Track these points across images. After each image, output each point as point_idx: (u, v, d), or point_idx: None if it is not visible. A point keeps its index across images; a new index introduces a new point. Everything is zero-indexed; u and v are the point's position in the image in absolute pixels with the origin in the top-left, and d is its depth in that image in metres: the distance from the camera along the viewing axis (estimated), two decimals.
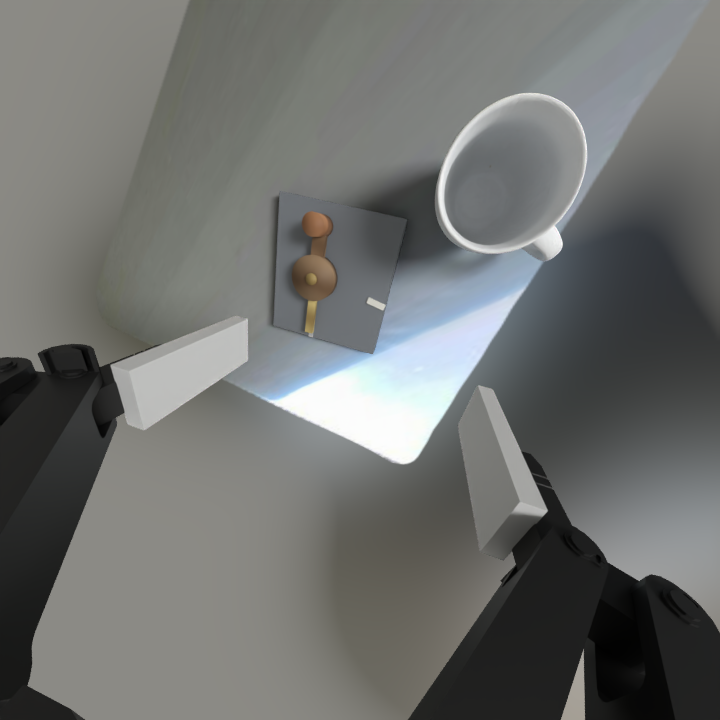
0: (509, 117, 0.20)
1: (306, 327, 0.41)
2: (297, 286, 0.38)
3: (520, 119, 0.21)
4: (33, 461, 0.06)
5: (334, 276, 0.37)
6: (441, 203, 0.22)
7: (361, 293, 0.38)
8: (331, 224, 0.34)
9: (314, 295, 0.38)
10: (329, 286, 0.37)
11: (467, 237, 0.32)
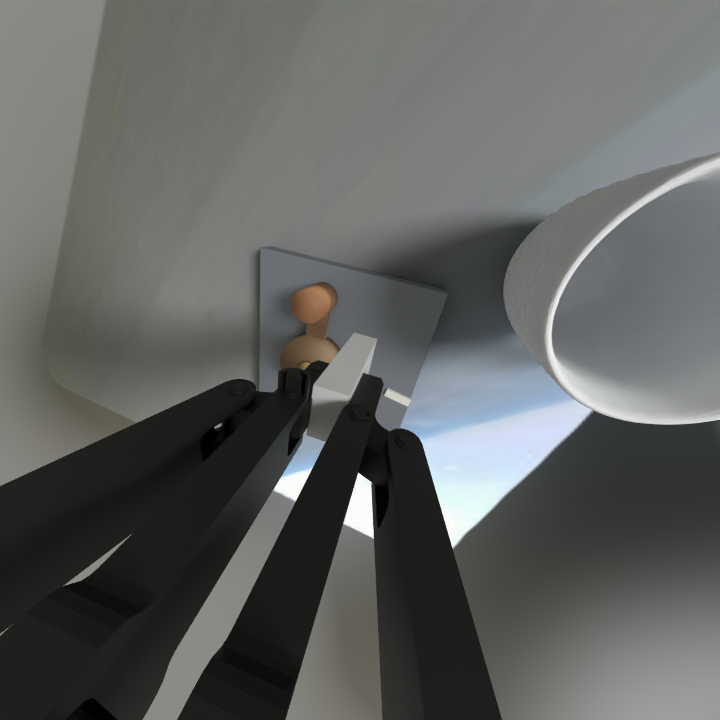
0: (718, 177, 0.10)
1: None
2: None
3: None
4: (238, 477, 0.06)
5: None
6: (550, 335, 0.12)
7: None
8: (336, 297, 0.24)
9: None
10: None
11: None
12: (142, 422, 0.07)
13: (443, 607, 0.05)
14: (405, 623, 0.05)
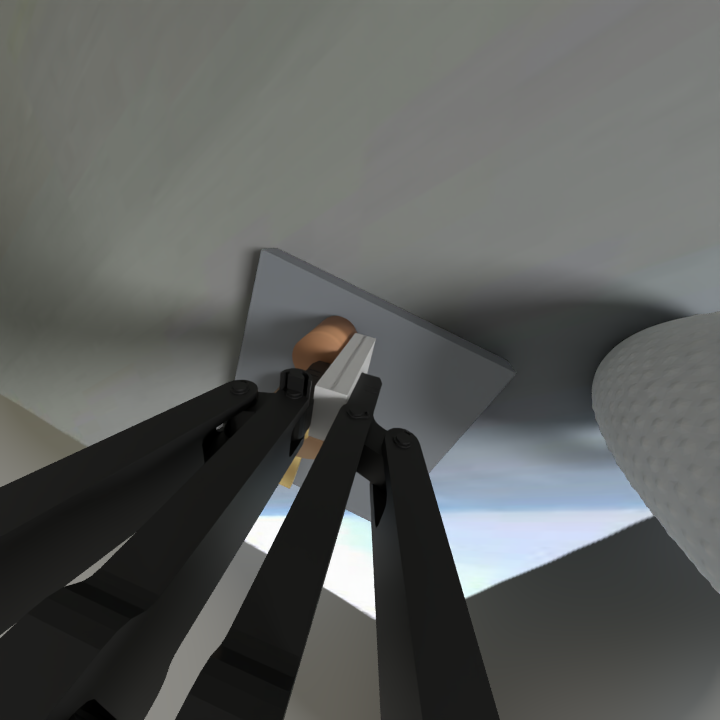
0: None
1: (281, 479, 0.23)
2: None
3: None
4: (239, 478, 0.06)
5: None
6: None
7: None
8: None
9: (302, 450, 0.20)
10: None
11: None
12: (144, 422, 0.07)
13: (440, 605, 0.05)
14: (403, 622, 0.05)
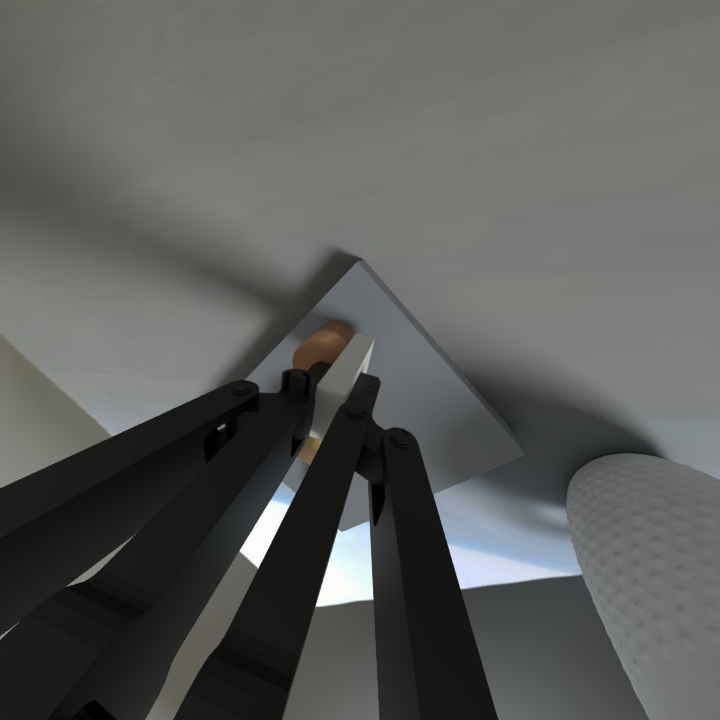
0: None
1: None
2: None
3: None
4: (241, 478, 0.06)
5: None
6: None
7: None
8: None
9: None
10: None
11: None
12: (145, 423, 0.07)
13: (439, 604, 0.05)
14: (401, 620, 0.05)
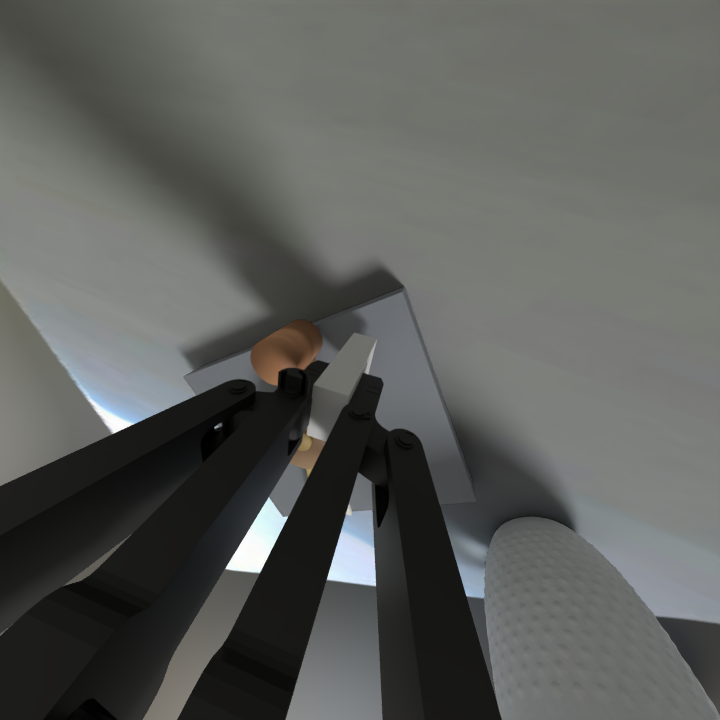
0: None
1: None
2: None
3: None
4: (237, 477, 0.06)
5: None
6: None
7: None
8: (318, 337, 0.17)
9: (313, 461, 0.20)
10: None
11: None
12: (142, 422, 0.07)
13: (443, 607, 0.05)
14: (406, 623, 0.05)
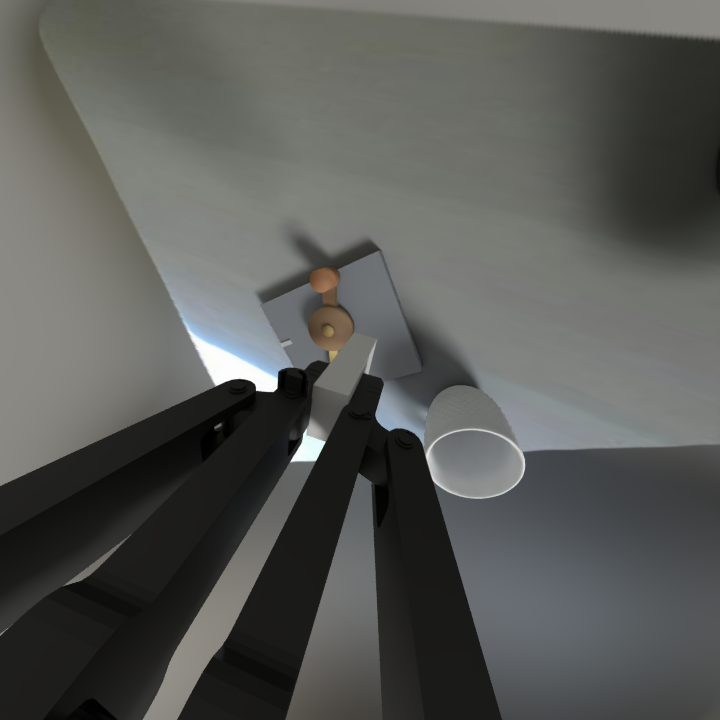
0: None
1: None
2: (316, 340, 0.37)
3: None
4: (237, 477, 0.06)
5: (350, 323, 0.36)
6: (441, 437, 0.29)
7: None
8: (338, 274, 0.34)
9: (334, 345, 0.37)
10: (347, 333, 0.36)
11: None
12: (142, 422, 0.07)
13: (443, 607, 0.05)
14: (406, 624, 0.05)
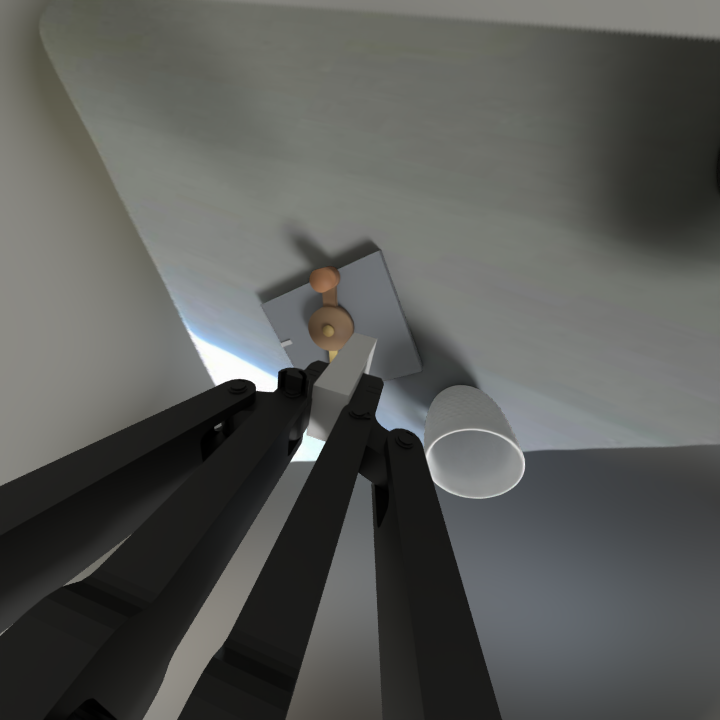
0: None
1: None
2: (316, 340, 0.37)
3: None
4: (237, 477, 0.06)
5: (350, 323, 0.36)
6: (441, 437, 0.29)
7: None
8: (338, 274, 0.34)
9: (334, 345, 0.37)
10: (347, 333, 0.36)
11: None
12: (141, 422, 0.07)
13: (443, 607, 0.05)
14: (406, 623, 0.05)
